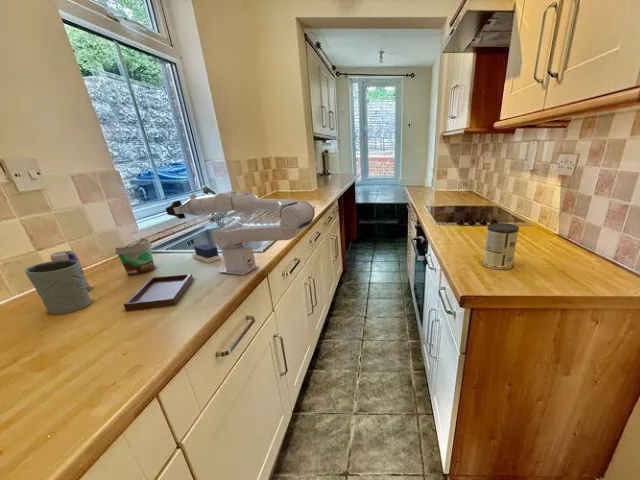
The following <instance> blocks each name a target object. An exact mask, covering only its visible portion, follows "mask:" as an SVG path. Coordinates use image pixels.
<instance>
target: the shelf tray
mask: <svg viewBox="0 0 640 480" xmlns="http://www.w3.org/2000/svg"><path fill="white" fill-rule="evenodd" d="M193 280H194V276H193V274H192V272H190V273H182V274H181V273H180V274H171V275H160V276H151V277H150V278H149V279H148V280H146V281H145V283H144V284H142V286H140V288H139V289H138V290H136V291H135V292H134V293H133V294H132V295H131V296H130V297H129V298H128V299H127V300H126V301H125V302H124V303H123V307H124V309H125V311H126V312H128V311H137V310H147V309H155V308H164V307H172V306H173V307H174V306H176V304H178V302H179V300H180V298H181V297H182V296H183V294H184V293H185V291H186V290H187V288H188V287H189V286H190V285H191V283H192V282H193Z"/></svg>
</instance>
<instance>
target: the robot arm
mask: <svg viewBox="0 0 640 480" xmlns="http://www.w3.org/2000/svg"><path fill="white" fill-rule="evenodd" d="M259 210H261V211H268V212H275V213H276V215H277V218H279V219H280V223H279V224H267V225H253V226H252V225H251V226H250V225H247V224H246V225H245V224H241V223H239V222H235V223H233V224H231V225H227V226H224V227H221V228H215V229H214V230H213V232H212V241H213V242H214V244H216V246H217V247H218V248H219V249H220V250H221V253H222V258H223V263H224V269H222V270H219V271H220V272H219V273H220V274H221V273H222V274H229V275H230V274H232V275H240V276H241V275H242V276H244V275H246V274H248V273H250V272H252V271H253V270H255V269H256V268H258V265H256V259H255V254H254V250H253V248H252V247H250V246H247V245H245V244H246V243H253V242H254V243H255V242H275V241H279V242H280V241H291V240H293V239H294V238H297V236H298V235H300V233H302V232H303V231H304V230H305V229H306V228H307V227H308V226H311V224H312V223H313V221H314V219H315V215H316V210H315V207H314V206H313V204H312V203H311V202H309V201H307V200H302V201H300V200H299V199H290V198H260V197H258V196H257V195H256V194H255V193H251V192H250V191H243V192H237V191H236V190H230V191H226V192H220V193H215V194H214V193H213V194H208V195H203V196H201V195H200V196H197V194H195V193H192V194H191V193H190V194H189V199H187V200H185V202H183V203H182V202H181V200H179V199H178V200H175V201H173V202H172V203H171V205H169V206H167V207H166V208H165V212H166V213H167V215H168V216H172V217H176V218H178V219H179V220H182V219H187V218H186V215H190V216H194V217H195V216H197V217H200V216H205V215H209V214H210V215H211V214H217V213H225V214H227V213H230V212H232V211H234V212H237V213H238V212H240V213H251V214H254V213H255V214H256V213H257V212H258V211H259Z"/></svg>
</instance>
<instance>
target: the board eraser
mask: <svg viewBox="0 0 640 480" xmlns="http://www.w3.org/2000/svg"><path fill="white" fill-rule="evenodd" d="M217 247H218V246H213V245H210V244H206V243H203V244H200V245H195V246H194V247H193V248H194V252H192V253H191V255H192V258H193V259H196V260H199V261H202V262H205V263H208V264H209V263H212V262H216V261H219V260H221V256H220V255H219V252H218V248H217Z"/></svg>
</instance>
